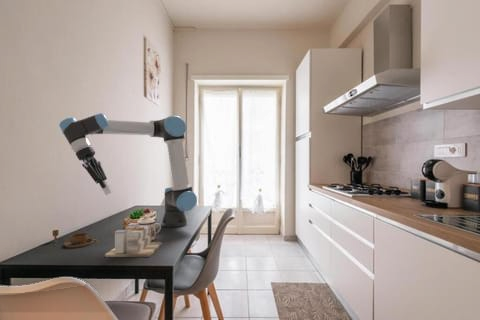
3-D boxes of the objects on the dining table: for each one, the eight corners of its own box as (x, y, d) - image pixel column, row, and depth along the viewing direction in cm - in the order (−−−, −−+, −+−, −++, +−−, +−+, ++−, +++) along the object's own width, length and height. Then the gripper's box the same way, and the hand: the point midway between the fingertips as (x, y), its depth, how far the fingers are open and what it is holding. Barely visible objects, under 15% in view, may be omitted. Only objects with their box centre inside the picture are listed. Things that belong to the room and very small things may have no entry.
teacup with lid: (139, 243, 132) (139, 218, 132) (134, 238, 139) (134, 215, 139) (163, 239, 138) (163, 215, 139) (157, 235, 146) (157, 213, 146)
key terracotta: (128, 245, 123) (128, 226, 123) (136, 246, 122) (136, 226, 123) (124, 248, 119) (124, 228, 119) (133, 248, 119) (133, 228, 119)
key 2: (130, 241, 129) (130, 223, 129) (138, 241, 129) (138, 223, 129) (127, 243, 126) (127, 224, 126) (135, 243, 126) (135, 224, 126)
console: (123, 244, 129) (123, 223, 129) (161, 244, 129) (161, 223, 129) (105, 256, 112) (105, 232, 112) (149, 256, 112) (149, 232, 112)
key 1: (118, 250, 116) (118, 229, 116) (127, 250, 116) (127, 229, 116) (114, 253, 113) (114, 231, 113) (123, 253, 113) (123, 231, 113)
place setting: (59, 252, 119) (59, 238, 119) (50, 243, 134) (50, 230, 134) (102, 244, 132) (102, 231, 132) (89, 236, 146) (89, 224, 146)
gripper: (83, 153, 135) (108, 195, 136) (68, 153, 122) (95, 199, 123) (97, 146, 136) (121, 188, 136) (83, 145, 123) (110, 191, 123)
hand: (109, 193), depth 130 cm, fingers closed
